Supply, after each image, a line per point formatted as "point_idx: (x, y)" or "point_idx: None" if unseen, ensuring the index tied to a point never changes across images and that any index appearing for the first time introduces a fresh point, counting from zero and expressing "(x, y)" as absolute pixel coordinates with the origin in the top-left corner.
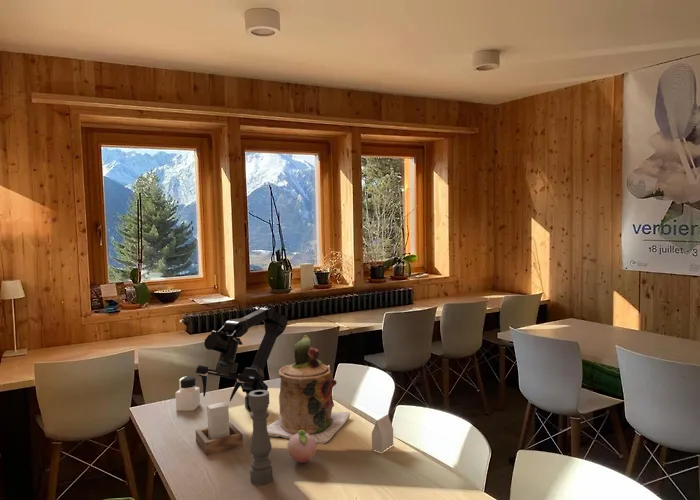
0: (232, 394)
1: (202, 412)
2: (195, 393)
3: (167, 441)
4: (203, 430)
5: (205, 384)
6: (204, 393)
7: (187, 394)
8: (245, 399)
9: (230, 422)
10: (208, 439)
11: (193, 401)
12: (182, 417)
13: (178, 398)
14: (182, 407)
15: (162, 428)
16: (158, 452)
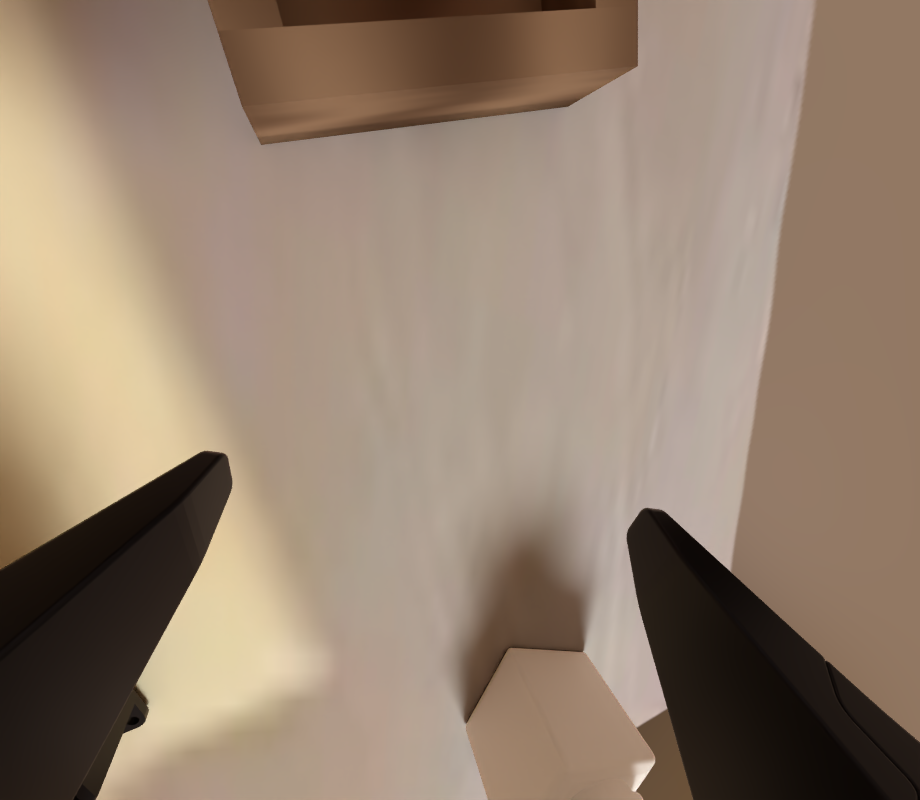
0: (106, 540)
1: (463, 625)
2: (536, 779)
3: (709, 221)
4: (572, 12)
5: (840, 722)
6: (683, 540)
7: (592, 751)
8: (97, 765)
9: (245, 102)
10: (491, 10)
11: (533, 703)
12: (572, 566)
13: (618, 718)
14: (568, 665)
15: (683, 436)
16: (791, 42)
